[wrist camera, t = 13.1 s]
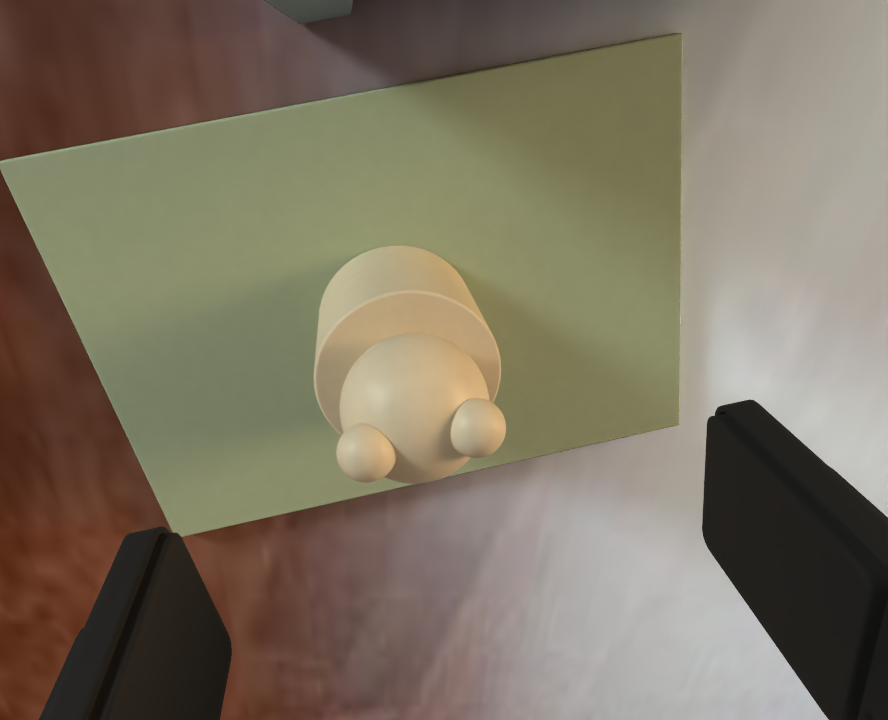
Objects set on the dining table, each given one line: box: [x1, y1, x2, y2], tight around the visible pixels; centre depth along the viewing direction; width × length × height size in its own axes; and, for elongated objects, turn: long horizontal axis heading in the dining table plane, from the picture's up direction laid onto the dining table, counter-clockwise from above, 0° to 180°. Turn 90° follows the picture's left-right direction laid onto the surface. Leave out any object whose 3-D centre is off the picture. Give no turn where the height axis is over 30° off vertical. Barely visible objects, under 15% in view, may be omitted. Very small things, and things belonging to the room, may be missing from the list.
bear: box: [313, 246, 506, 484], centre depth 18 cm, size 5×6×8 cm
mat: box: [0, 33, 682, 537], centre depth 21 cm, size 20×14×1 cm
